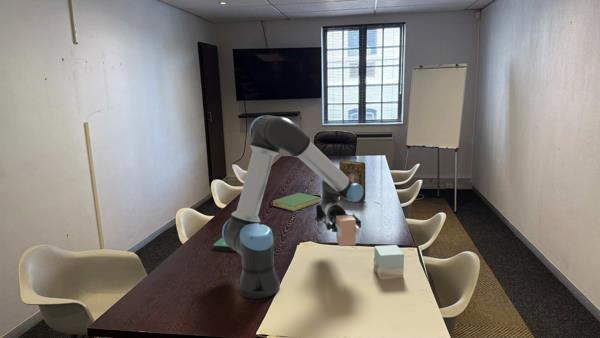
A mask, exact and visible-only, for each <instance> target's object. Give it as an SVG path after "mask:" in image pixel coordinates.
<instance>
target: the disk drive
mask: <svg viewBox="0 0 600 338" xmlns="http://www.w3.org/2000/svg"><path fill="white" fill-rule="evenodd" d="M212 250H213V251H227V252H236V251H235V250H233V249H232V248H230V247H229V246H228V245H227V244H226V242H225V241H224V239H223V236H222V237H219V239H218V240H216V242H215V243H214V244H212Z"/></svg>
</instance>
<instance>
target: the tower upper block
mask: <svg viewBox="0 0 600 338" xmlns="http://www.w3.org/2000/svg"><path fill="white" fill-rule="evenodd" d="M374 258H375V260H376V261H377V263H378V265H379V266H380V268H387V267H405V266H404V263H405V253H404V252H403V251H402V249H401V248H400V247H399V246H398V245H397V244H391V245H390V244H389V245H375V246H374V257H373V259H374Z"/></svg>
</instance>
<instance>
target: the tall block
mask: <svg viewBox="0 0 600 338" xmlns="http://www.w3.org/2000/svg"><path fill="white" fill-rule="evenodd" d="M336 224H338V226H339V227H340V228H341V237H339V235H338V234H337V232H335V233H336V240H335V241H336V242H337V244H338V245H339V247H349V246H350V247H351V246H356V245H357V244H356V243H357V242H356V240H357V239H356V238H357V237H356V236H357V234H356V220H355V218H354V217H353V216H352V214H348V215H342V216H336Z"/></svg>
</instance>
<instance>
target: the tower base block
mask: <svg viewBox="0 0 600 338" xmlns="http://www.w3.org/2000/svg"><path fill="white" fill-rule="evenodd" d="M404 267H405V266H404ZM404 267H387V268H380V266H379V265H378V263H377V261H376V260H375V258H374V257H373V270H374V272H375V273H376V275H377V276H378V278H379V279H380V280H391V279H401V278H402V279H403V278H404V273H405V272H404V270H405V269H404Z"/></svg>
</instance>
